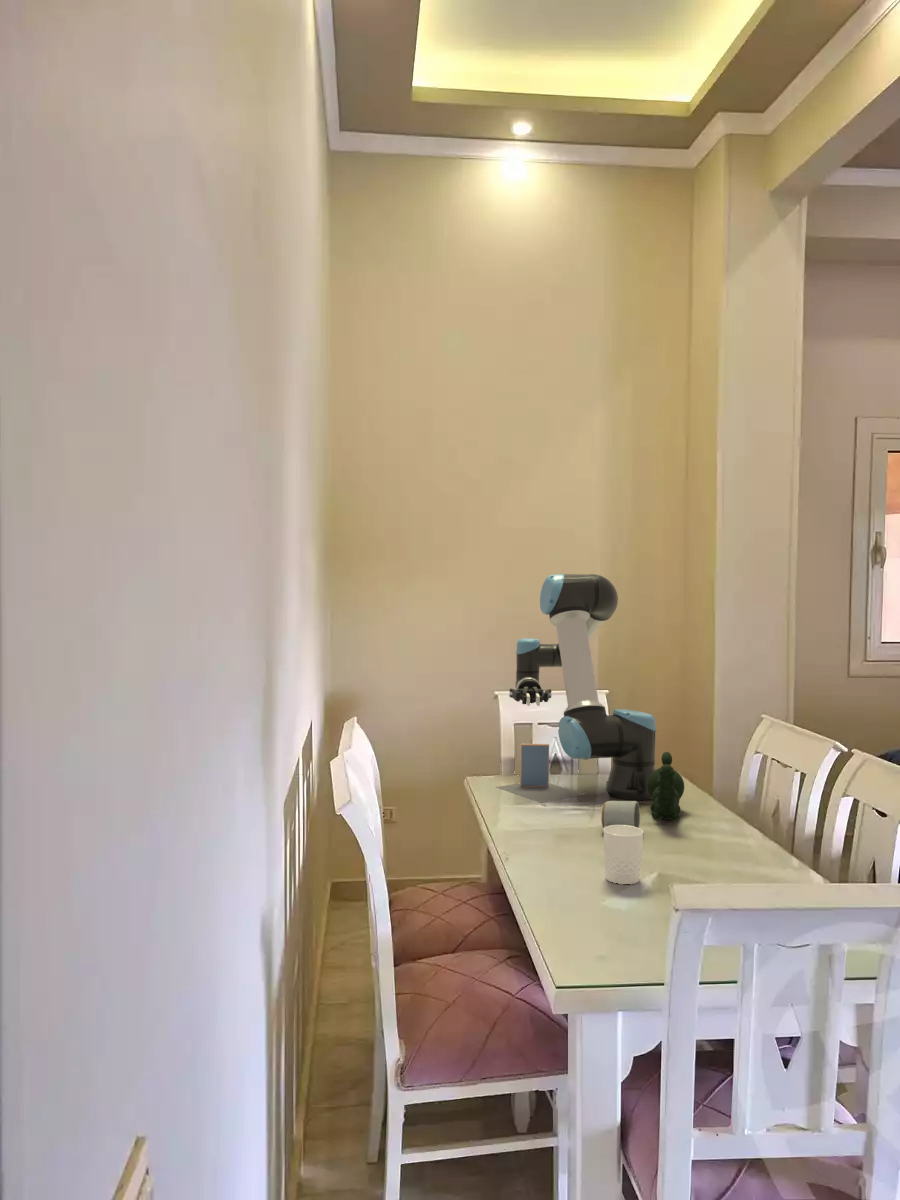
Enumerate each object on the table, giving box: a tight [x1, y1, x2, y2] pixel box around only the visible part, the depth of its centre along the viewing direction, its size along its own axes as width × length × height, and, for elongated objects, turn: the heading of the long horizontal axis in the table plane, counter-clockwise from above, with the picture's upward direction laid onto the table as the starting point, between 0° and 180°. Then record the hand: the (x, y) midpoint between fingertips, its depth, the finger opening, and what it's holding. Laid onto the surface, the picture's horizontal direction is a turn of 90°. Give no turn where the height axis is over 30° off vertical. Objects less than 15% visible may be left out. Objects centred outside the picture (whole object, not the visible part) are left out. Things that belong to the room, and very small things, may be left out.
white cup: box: [603, 825, 644, 885], centre depth 181 cm, size 8×8×10 cm
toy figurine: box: [647, 751, 685, 822], centre depth 228 cm, size 9×19×25 cm
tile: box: [519, 743, 550, 787], centre depth 254 cm, size 2×8×12 cm, turn 88°
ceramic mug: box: [600, 800, 641, 829], centre depth 212 cm, size 11×8×8 cm
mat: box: [495, 782, 587, 804], centre depth 249 cm, size 20×16×1 cm
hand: (533, 701), depth 261 cm, fingers open, 2 cm apart
